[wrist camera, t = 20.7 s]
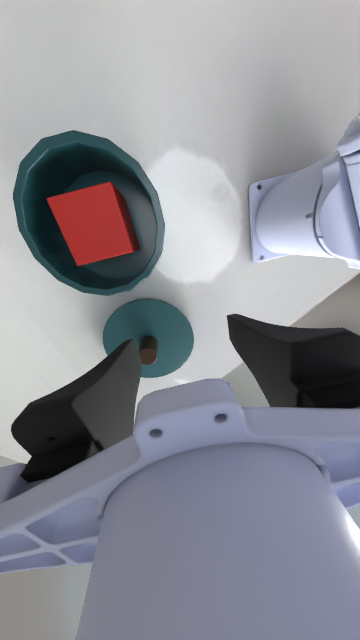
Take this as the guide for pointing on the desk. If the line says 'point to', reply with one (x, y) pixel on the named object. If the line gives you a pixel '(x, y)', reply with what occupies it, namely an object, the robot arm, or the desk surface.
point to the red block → (95, 223)
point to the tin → (77, 173)
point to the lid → (151, 335)
